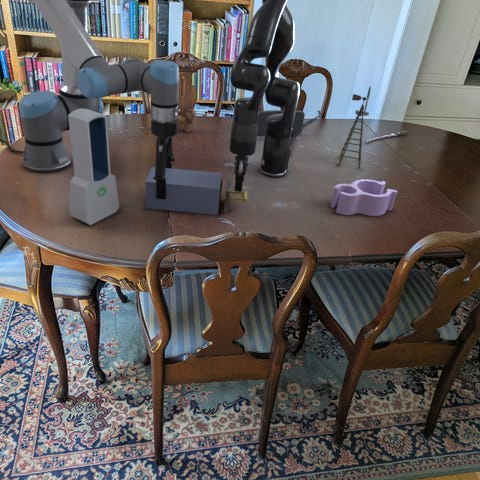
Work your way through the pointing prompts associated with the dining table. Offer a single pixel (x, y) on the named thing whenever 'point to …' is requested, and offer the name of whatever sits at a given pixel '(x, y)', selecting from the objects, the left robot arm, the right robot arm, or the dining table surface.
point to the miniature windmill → (359, 113)
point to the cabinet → (185, 191)
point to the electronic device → (91, 168)
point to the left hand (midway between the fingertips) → (164, 189)
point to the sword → (384, 137)
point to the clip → (363, 198)
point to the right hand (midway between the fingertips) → (238, 190)
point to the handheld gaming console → (265, 114)
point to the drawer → (227, 197)
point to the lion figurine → (187, 119)
